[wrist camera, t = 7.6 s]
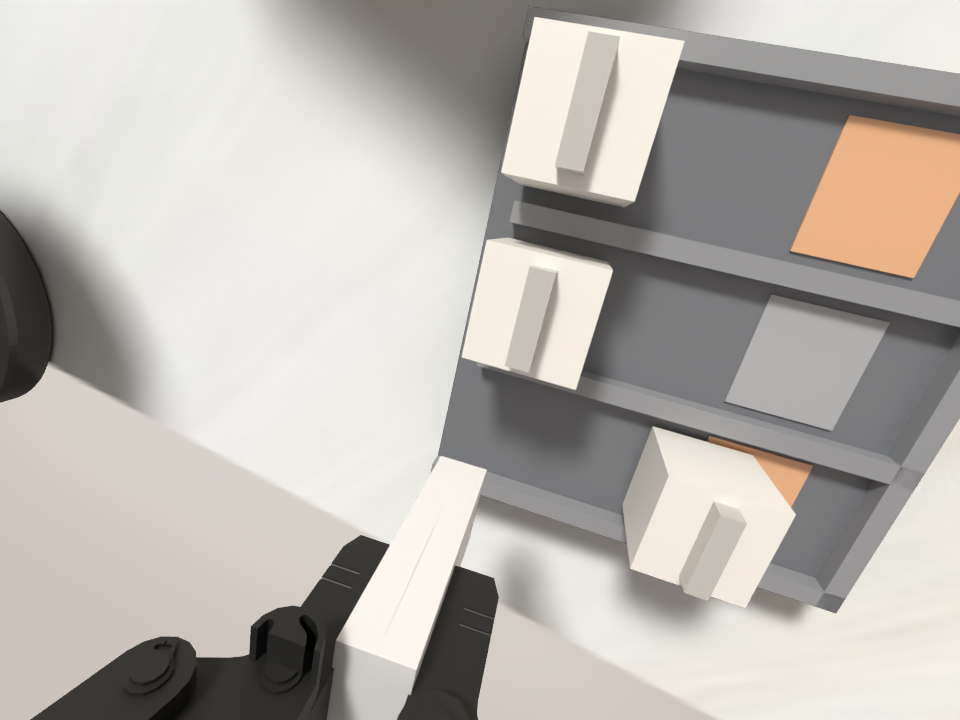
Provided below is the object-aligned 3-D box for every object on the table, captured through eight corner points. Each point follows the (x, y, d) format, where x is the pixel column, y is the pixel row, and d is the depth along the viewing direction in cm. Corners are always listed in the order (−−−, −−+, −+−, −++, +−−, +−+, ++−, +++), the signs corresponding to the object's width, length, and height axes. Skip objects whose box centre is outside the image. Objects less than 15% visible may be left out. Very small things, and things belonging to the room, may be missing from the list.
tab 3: (622, 504, 20) (632, 585, 15) (652, 425, 19) (672, 489, 14) (715, 534, 19) (753, 627, 15) (753, 455, 18) (807, 530, 14)
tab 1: (520, 184, 17) (496, 169, 13) (547, 66, 16) (531, 2, 11) (624, 207, 17) (637, 199, 12) (661, 86, 15) (691, 27, 11)
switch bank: (449, 447, 24) (429, 477, 21) (538, 43, 18) (528, 6, 15) (801, 559, 21) (835, 613, 18) (1047, 129, 15) (1157, 105, 12)
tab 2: (486, 332, 19) (454, 363, 15) (508, 237, 18) (481, 240, 13) (578, 357, 19) (575, 398, 14) (607, 261, 17) (614, 272, 13)
